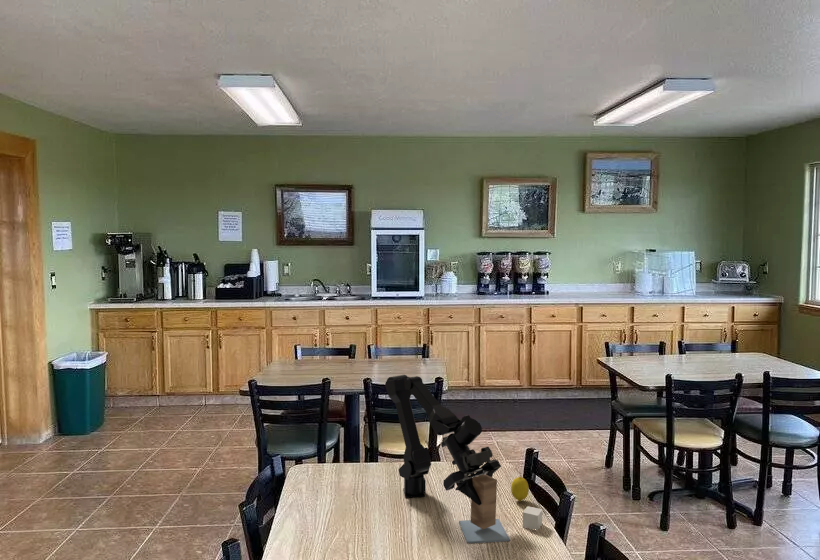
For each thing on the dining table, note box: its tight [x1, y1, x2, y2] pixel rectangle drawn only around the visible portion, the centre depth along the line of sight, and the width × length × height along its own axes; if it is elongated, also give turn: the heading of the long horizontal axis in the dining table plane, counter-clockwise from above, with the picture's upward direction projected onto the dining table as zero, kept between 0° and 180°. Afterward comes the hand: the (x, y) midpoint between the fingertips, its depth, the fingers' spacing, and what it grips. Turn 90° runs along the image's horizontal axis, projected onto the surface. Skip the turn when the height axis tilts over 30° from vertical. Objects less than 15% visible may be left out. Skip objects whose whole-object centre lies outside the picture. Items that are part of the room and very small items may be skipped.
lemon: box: [510, 476, 530, 502], centre depth 183 cm, size 6×6×8 cm
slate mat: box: [458, 518, 511, 544], centre depth 164 cm, size 12×12×1 cm
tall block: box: [470, 474, 498, 529], centre depth 164 cm, size 5×5×13 cm
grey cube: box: [522, 505, 543, 531], centre depth 167 cm, size 4×4×4 cm
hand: (487, 502), depth 162 cm, fingers closed on tall block, 5 cm apart
